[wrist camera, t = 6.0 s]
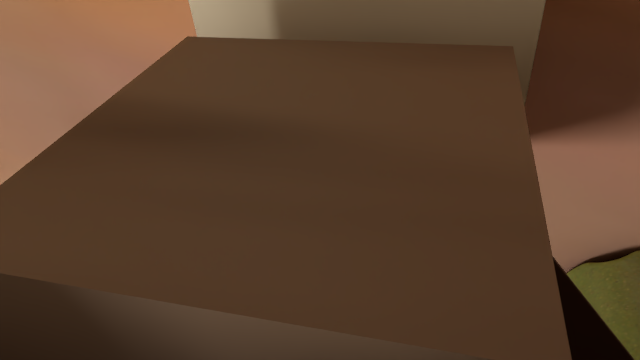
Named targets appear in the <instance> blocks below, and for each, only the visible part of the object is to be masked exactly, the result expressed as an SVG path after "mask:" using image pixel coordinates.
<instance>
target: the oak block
mask: <svg viewBox="0 0 640 360" xmlns="http://www.w3.org/2000/svg"><path fill="white" fill-rule="evenodd" d="M545 2H546V0H189V5H190V9H191V13H192V17H193V21H194V25H195V30H196V34H197V37H219V38H252V39H286V40H320V41H353V42H387V43H420V44H454V45H488V46H513V49H514V54H515V59H516V65H517V70H518V75H519V81H520V86H521V91H522V97H523V102H524V107H525V102H526V97H527V92H528V87H529V82H530V77H531V72H532V67H533V62H534V57H535V52H536V47H537V42H538V37H539V32H540V27H541V22H542V17H543V12H544V7H545Z"/></svg>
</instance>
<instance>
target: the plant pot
mask: <svg viewBox="0 0 640 360" xmlns="http://www.w3.org/2000/svg"><path fill="white" fill-rule="evenodd" d="M567 275H568V276H569V278H570V279H571V280H572V281H573V283H574V284H575V285H576V286H577V288H578V289H579V290H580V291H581V293H582V294H583V295H584V297H585V298H586V299H587V300H588V302H589V303H590V304H591V305H592V307H593V308H594V309H595V310H596V312H597V313H598V314H599V315H600V317H601V318H602V319H603V320H604V322H605V323H606V324H607V326H608V327H609V328H610V329H611V331H612V332H613V333H614V334H615V336H616V337H617V338H618V339H619V341H620V342H621V343H622V344H623V346H624V347H625V348H626V350H627V351H628V352H629V353H630V355H631V356H632V357H633V358H634V360H640V251H635V252H633V253H631V254H629V255H627V256H625V257H622V258H620V259H617V260H612V261H608V262H599V263H584V264H582V265H580V266H578V267H576V268H574V269H572V270H571V271H569V272H568V273H567Z"/></svg>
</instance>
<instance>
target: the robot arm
mask: <svg viewBox="0 0 640 360" xmlns="http://www.w3.org/2000/svg"><path fill="white" fill-rule="evenodd" d="M552 257H553V256H552ZM553 262H554V267H555V273H556V278H557V283H558V289H559V294H560V299H561V305H562V310H563V315H564V321H565V326H566V331H567V337H568V342H569V347H570V353H571V358H572V360H634V358H633V357H632V356H631V355H630V353H629V352H628V351H627V350H626V348H625V347H624V346H623V344H622V343H621V342H620V341H619V339H618V338H617V337H616V336H615V334H614V333H613V332H612V331H611V329H610V328H609V327H608V326H607V324H606V323H605V322H604V320H603V319H602V318H601V317H600V315H599V314H598V313H597V312H596V310H595V309H594V308H593V307H592V305H591V304H590V303H589V302H588V300H587V299H586V298H585V297H584V295H583V294H582V293H581V291H580V290H579V289H578V288H577V286H576V285H575V284H574V283H573V281H572V280H571V279H570V278H569V276H568V275H567V274H566V273H565V271H564V270H563V269H562V268H561V266H560V265H559V264H558V262H557V261H556V260H555V259H554V257H553Z"/></svg>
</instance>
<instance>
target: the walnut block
mask: <svg viewBox="0 0 640 360" xmlns="http://www.w3.org/2000/svg"><path fill="white" fill-rule="evenodd" d="M0 360H572V358H571V353H570V347H569V342H568V337H567V331H566V326H565V321H564V315H563V310H562V305H561V299H560V294H559V289H558V283H557V278H556V273H555V267H554V262H553V257H552V251H551V246H550V241H549V235H548V230H547V225H546V219H545V214H544V209H543V203H542V198H541V193H540V187H539V182H538V177H537V171H536V166H535V161H534V155H533V150H532V145H531V139H530V134H529V129H528V123H527V118H526V113H525V107H524V102H523V97H522V91H521V86H520V81H519V75H518V70H517V65H516V59H515V54H514V49H513V46H488V45H454V44H420V43H387V42H353V41H320V40H286V39H252V38H219V37H186V38H185V39H184V40H183V41H181V42H180V43H179V44H178V45H176V46H175V47H174V48H172V49H171V50H170V51H169V52H167V53H166V54H165V55H164V56H162V57H161V58H160V59H159V60H157V61H156V62H155V63H154V64H152V65H151V66H150V67H149V68H147V69H146V70H145V71H144V72H142V73H141V74H140V75H138V76H137V77H136V78H135V79H133V80H132V81H131V82H130V83H128V84H127V85H126V86H125V87H123V88H122V89H121V90H120V91H118V92H117V93H116V94H115V95H113V96H112V97H111V98H110V99H108V100H107V101H106V102H105V103H103V104H102V105H101V106H99V107H98V108H97V109H96V110H94V111H93V112H92V113H91V114H89V115H88V116H87V117H86V118H84V119H83V120H82V121H81V122H79V123H78V124H77V125H76V126H74V127H73V128H72V129H71V130H69V131H68V132H67V133H65V134H64V135H63V136H62V137H60V138H59V139H58V140H57V141H55V142H54V143H53V144H52V145H50V146H49V147H48V148H47V149H45V150H44V151H43V152H42V153H40V154H39V155H38V156H37V157H35V158H34V159H33V160H32V161H30V162H29V163H28V164H26V165H25V166H24V167H23V168H21V169H20V170H19V171H18V172H16V173H15V174H14V175H13V176H11V177H10V178H9V179H8V180H6V181H5V182H4V183H3V184H1V185H0Z"/></svg>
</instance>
